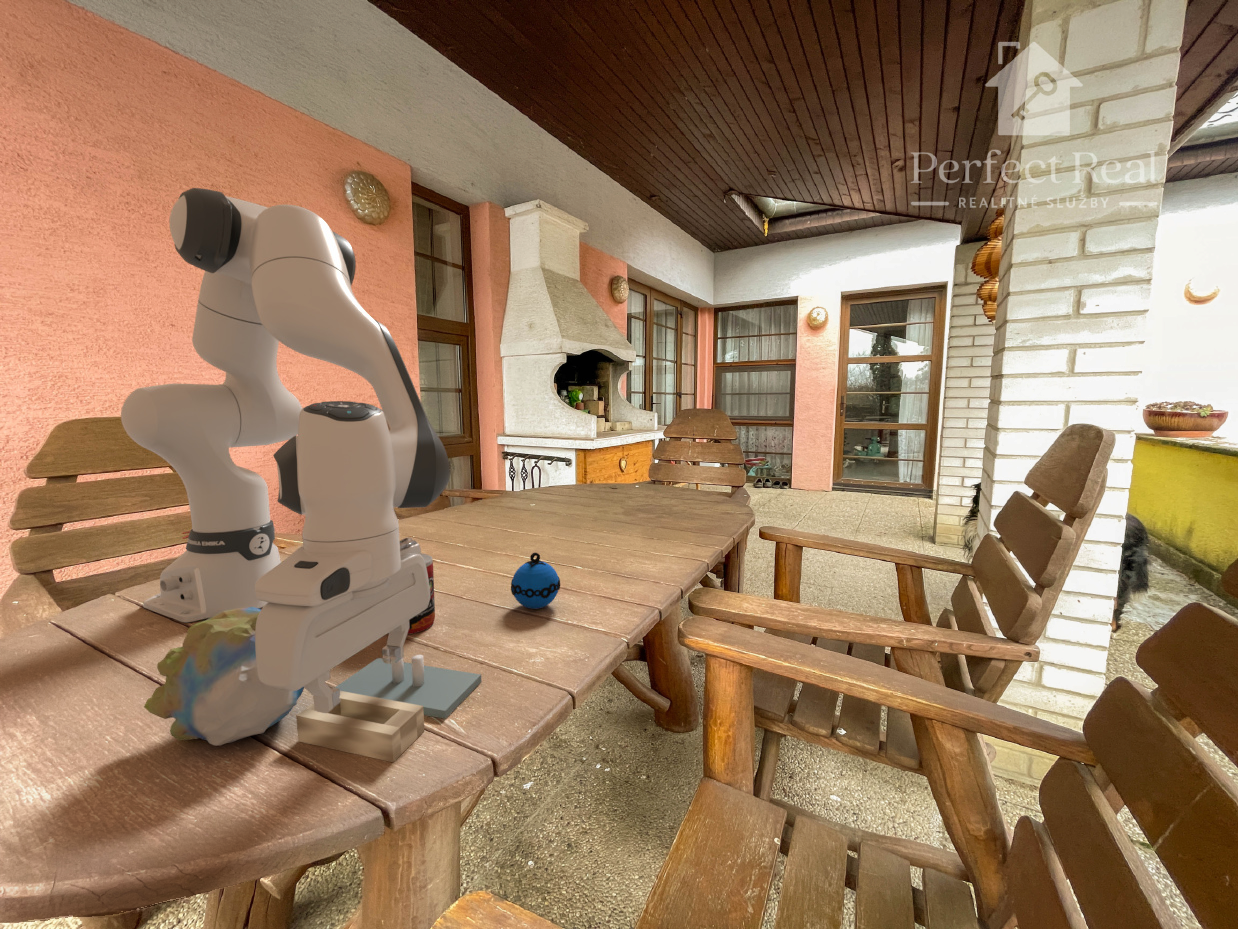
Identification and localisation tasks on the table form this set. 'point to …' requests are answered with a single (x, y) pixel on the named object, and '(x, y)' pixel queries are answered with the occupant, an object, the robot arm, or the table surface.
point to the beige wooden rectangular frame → (363, 726)
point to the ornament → (535, 583)
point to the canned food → (428, 615)
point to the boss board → (414, 684)
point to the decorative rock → (218, 683)
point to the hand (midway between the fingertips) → (363, 682)
